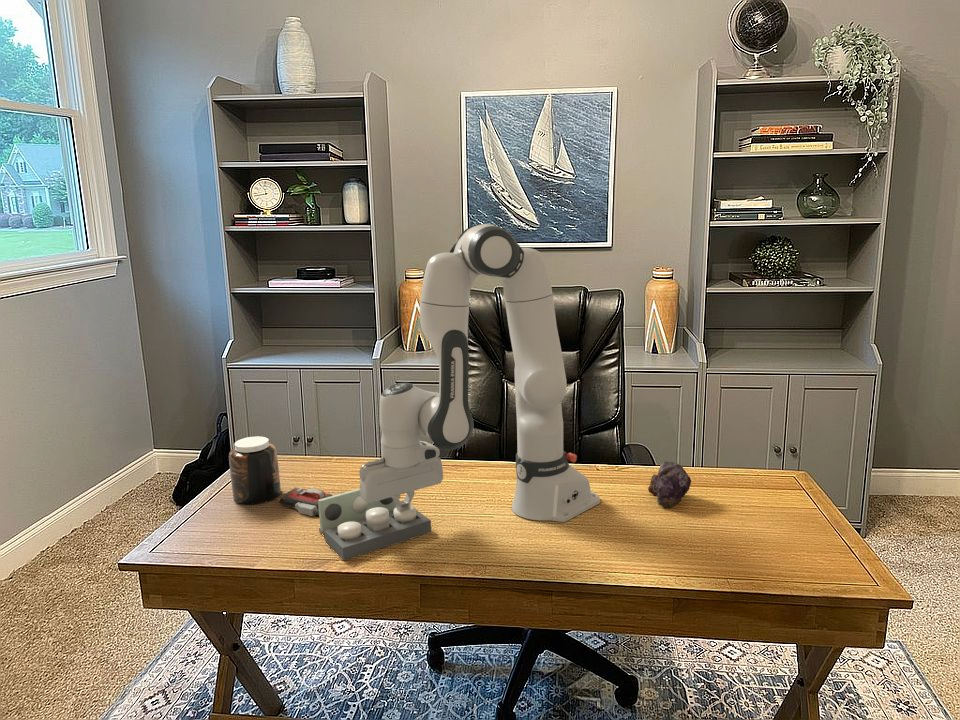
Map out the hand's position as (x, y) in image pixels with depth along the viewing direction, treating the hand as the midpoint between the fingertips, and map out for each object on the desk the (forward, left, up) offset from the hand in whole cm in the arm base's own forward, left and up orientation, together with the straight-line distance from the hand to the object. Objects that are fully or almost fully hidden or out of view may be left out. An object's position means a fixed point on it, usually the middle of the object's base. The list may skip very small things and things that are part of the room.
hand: (403, 509), depth 176 cm
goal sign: (+7, -9, -5) cm, 12 cm away
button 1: (+14, 0, -5) cm, 15 cm away
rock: (-61, +26, -5) cm, 67 cm away
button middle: (+7, 0, -3) cm, 8 cm away
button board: (+7, 0, -5) cm, 8 cm away
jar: (+22, -40, -5) cm, 46 cm away
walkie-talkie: (+12, -24, -6) cm, 27 cm away
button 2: (0, 0, -4) cm, 5 cm away
